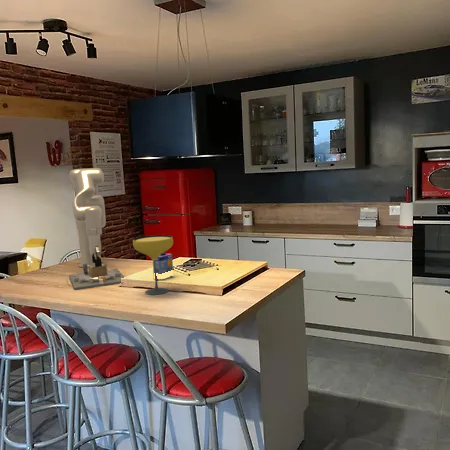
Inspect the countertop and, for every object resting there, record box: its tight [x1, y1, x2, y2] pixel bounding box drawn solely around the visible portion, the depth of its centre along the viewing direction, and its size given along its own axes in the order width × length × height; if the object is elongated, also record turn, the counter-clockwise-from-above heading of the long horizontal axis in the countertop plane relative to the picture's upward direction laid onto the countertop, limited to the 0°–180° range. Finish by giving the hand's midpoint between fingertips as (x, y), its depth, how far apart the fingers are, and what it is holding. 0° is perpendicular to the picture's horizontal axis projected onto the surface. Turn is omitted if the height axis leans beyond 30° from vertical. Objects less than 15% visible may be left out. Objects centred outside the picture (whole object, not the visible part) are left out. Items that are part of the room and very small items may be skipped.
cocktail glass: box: [132, 234, 174, 296], centre depth 215 cm, size 18×18×25 cm
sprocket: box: [73, 264, 121, 283], centre depth 246 cm, size 24×24×6 cm
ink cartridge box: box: [152, 251, 174, 274], centre depth 241 cm, size 10×6×14 cm, turn 144°
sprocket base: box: [68, 268, 126, 291], centre depth 247 cm, size 32×26×3 cm
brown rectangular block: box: [87, 263, 108, 278], centre depth 242 cm, size 5×8×5 cm, turn 123°
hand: (97, 264), depth 242 cm, fingers open, 9 cm apart
